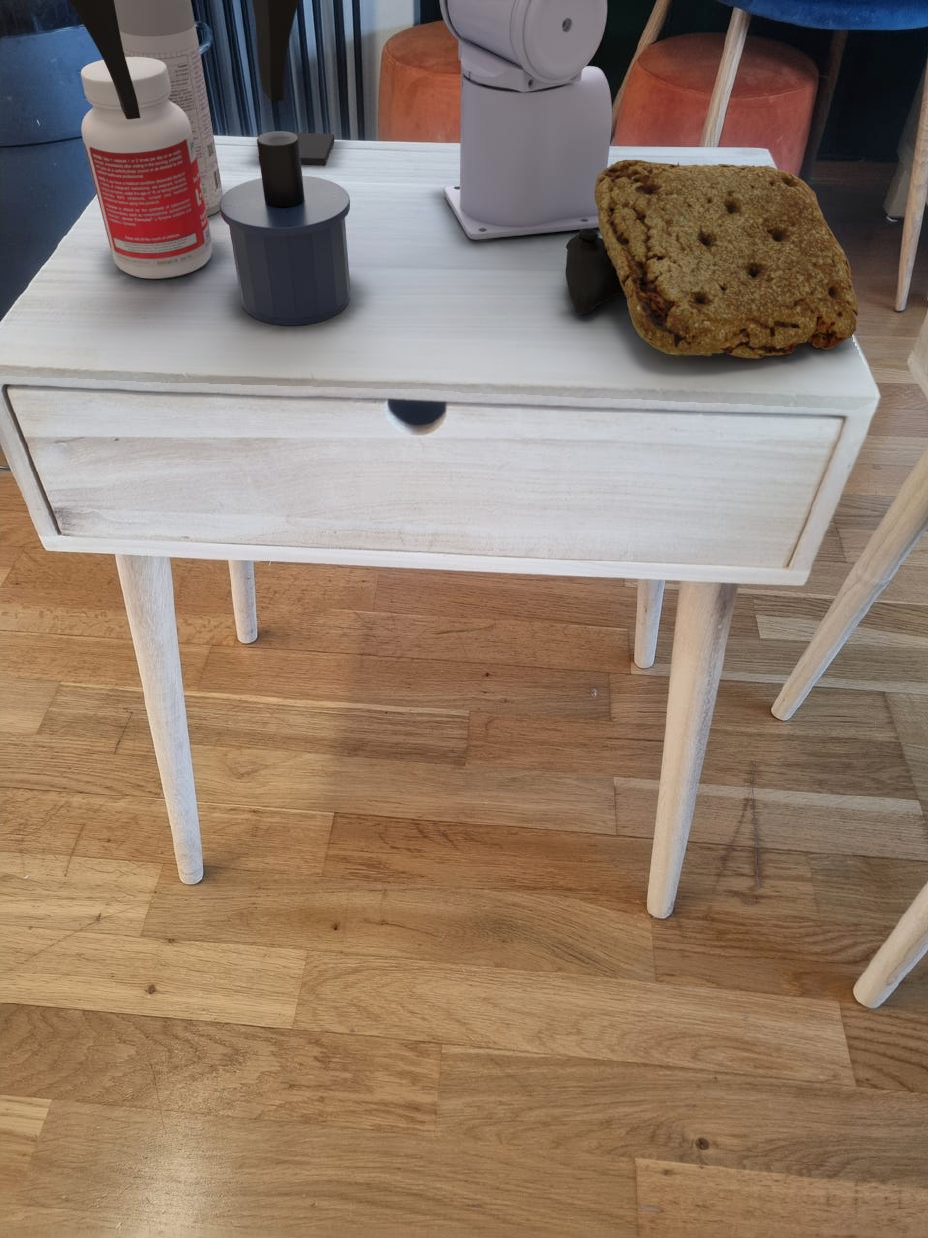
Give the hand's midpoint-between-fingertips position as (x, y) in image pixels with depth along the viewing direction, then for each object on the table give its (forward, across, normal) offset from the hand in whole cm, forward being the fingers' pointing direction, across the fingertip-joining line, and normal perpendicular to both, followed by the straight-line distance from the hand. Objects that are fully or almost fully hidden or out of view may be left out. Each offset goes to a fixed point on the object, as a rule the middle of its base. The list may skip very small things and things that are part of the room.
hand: (203, 103), depth 53 cm
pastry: (+8, -26, +13) cm, 30 cm away
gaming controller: (+10, -22, +10) cm, 26 cm away
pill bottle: (+10, +3, -5) cm, 12 cm away
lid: (+5, -3, +3) cm, 7 cm away
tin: (+10, -3, +3) cm, 11 cm away
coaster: (+10, -9, -19) cm, 24 cm away
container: (+10, 0, -12) cm, 16 cm away
